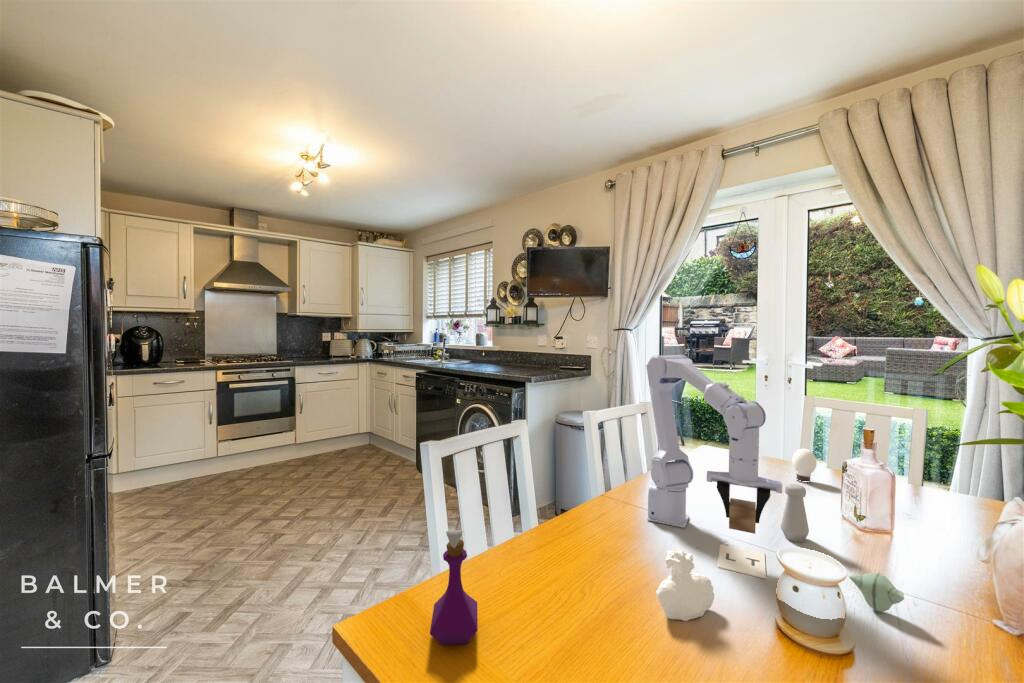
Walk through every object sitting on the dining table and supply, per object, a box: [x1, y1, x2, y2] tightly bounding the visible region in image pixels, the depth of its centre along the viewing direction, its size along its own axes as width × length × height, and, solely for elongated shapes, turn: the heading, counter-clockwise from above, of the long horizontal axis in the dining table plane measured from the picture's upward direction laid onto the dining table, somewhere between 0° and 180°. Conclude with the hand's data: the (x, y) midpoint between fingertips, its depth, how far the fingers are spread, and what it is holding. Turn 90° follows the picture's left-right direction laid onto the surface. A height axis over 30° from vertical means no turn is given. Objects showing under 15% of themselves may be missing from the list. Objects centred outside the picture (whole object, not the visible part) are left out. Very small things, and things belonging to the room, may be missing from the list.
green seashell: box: [848, 571, 905, 613], centre depth 79 cm, size 8×4×7 cm, turn 34°
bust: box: [655, 548, 715, 622], centre depth 80 cm, size 12×8×11 cm
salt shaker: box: [780, 483, 810, 543], centre depth 106 cm, size 6×6×13 cm
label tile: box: [716, 543, 767, 580], centre depth 96 cm, size 9×11×1 cm
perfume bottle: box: [429, 529, 479, 646], centre depth 72 cm, size 8×8×18 cm
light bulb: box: [791, 448, 817, 482], centre depth 146 cm, size 7×7×11 cm
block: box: [728, 497, 757, 535], centre depth 95 cm, size 5×5×5 cm
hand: (742, 518), depth 96 cm, fingers closed on block, 5 cm apart
